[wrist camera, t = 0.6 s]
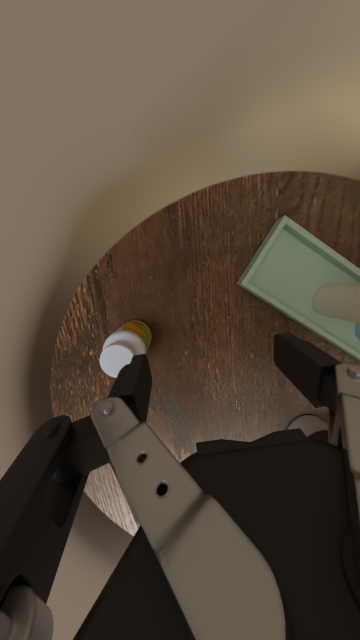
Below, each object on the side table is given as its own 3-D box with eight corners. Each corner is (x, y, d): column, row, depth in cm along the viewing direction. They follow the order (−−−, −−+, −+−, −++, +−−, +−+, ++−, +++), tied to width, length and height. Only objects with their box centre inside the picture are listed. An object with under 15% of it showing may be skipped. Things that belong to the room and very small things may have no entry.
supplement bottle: (158, 338, 30) (151, 365, 21) (133, 357, 31) (115, 392, 21) (137, 312, 29) (119, 329, 20) (111, 333, 30) (82, 358, 20)
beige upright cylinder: (310, 288, 29) (381, 292, 19) (342, 279, 29) (430, 279, 19) (313, 318, 30) (382, 337, 20) (344, 310, 30) (428, 326, 20)
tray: (235, 283, 29) (240, 284, 27) (276, 219, 27) (285, 214, 25) (365, 365, 32) (378, 370, 30) (408, 313, 31) (425, 315, 29)
